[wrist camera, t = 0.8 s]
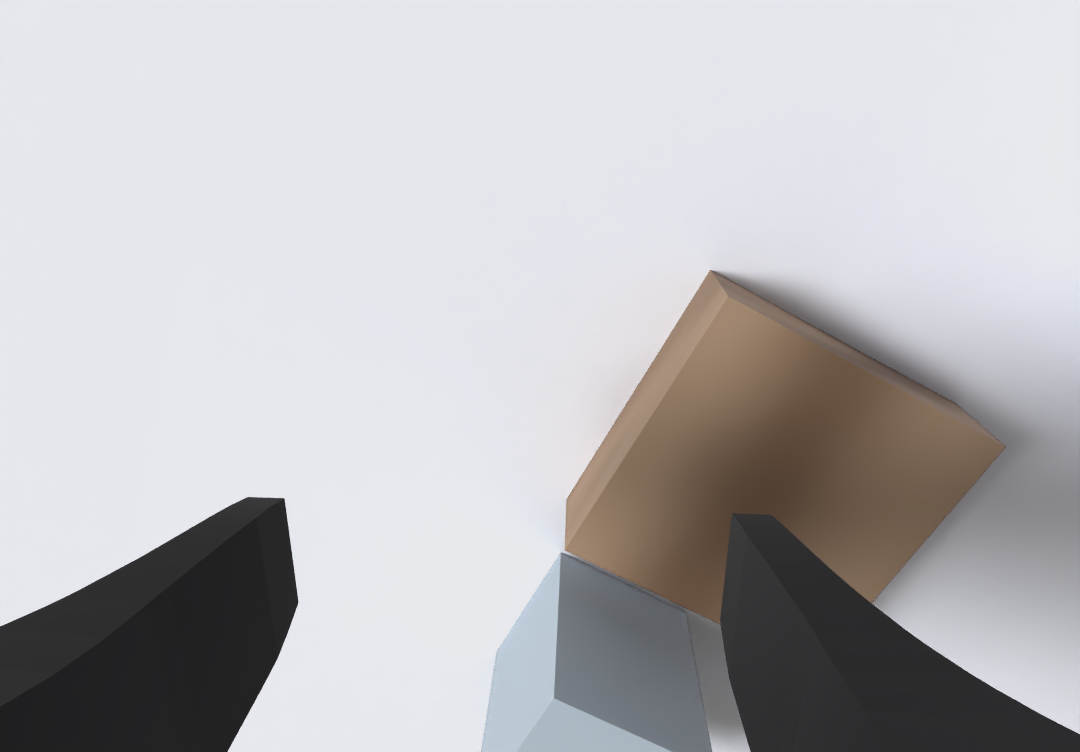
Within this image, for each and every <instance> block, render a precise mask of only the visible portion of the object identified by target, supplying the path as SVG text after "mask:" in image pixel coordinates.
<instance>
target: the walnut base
mask: <svg viewBox="0 0 1080 752" xmlns="http://www.w3.org/2000/svg"><path fill="white" fill-rule="evenodd" d="M1005 447H1006V446H1004V445H1003V444H1002V443H1001V442H1000V441H999V440H997V439H996V438H995V437H994V436H993V435H992V434H990V433H989V432H988V431H987V430H986V429H985V428H983V427H982V426H981V425H980V424H979V423H978V422H977V421H975V420H974V419H973V418H972V417H971V416H970V415H968V414H967V413H966V412H965V411H964V410H963V409H961V408H960V407H959V406H958V405H957V404H955V403H953V402H951V401H949V400H948V399H946V398H944V397H942V396H940V395H938V394H937V393H935V392H933V391H931V390H929V389H927V388H926V387H924V386H922V385H920V384H918V383H916V382H915V381H913V380H911V379H909V378H907V377H905V376H904V375H902V374H900V373H898V372H896V371H894V370H893V369H891V368H889V367H887V366H885V365H883V364H882V363H880V362H878V361H876V360H874V359H872V358H871V357H869V356H867V355H865V354H863V353H861V352H860V351H858V350H856V349H854V348H852V347H850V346H849V345H847V344H845V343H843V342H841V341H839V340H838V339H836V338H834V337H832V336H830V335H828V334H827V333H825V332H823V331H821V330H819V329H817V328H816V327H814V326H812V325H810V324H808V323H807V322H805V321H803V320H801V319H799V318H797V317H796V316H794V315H792V314H790V313H788V312H786V311H785V310H783V309H781V308H779V307H777V306H775V305H774V304H772V303H770V302H768V301H766V300H764V299H763V298H761V297H759V296H757V295H755V294H753V293H752V292H750V291H748V290H746V289H744V288H742V287H741V286H739V285H737V284H735V283H733V282H731V281H730V280H728V279H726V278H724V277H722V276H720V275H719V274H717V273H715V272H713V271H711V270H710V271H709V273H708V275H707V276H706V278H705V279H704V281H703V283H702V284H701V286H700V287H699V289H698V291H697V292H696V294H695V295H694V297H693V299H692V300H691V302H690V303H689V305H688V307H687V308H686V310H685V311H684V313H683V314H682V316H681V318H680V319H679V321H678V322H677V324H676V326H675V327H674V329H673V330H672V332H671V334H670V335H669V337H668V338H667V340H666V342H665V343H664V345H663V346H662V348H661V350H660V351H659V353H658V354H657V356H656V358H655V359H654V361H653V362H652V364H651V366H650V367H649V369H648V370H647V372H646V374H645V375H644V377H643V378H642V380H641V382H640V383H639V385H638V386H637V388H636V389H635V391H634V393H633V394H632V396H631V397H630V399H629V401H628V402H627V404H626V405H625V407H624V409H623V410H622V412H621V413H620V415H619V417H618V418H617V420H616V421H615V423H614V425H613V426H612V428H611V429H610V431H609V433H608V434H607V436H606V437H605V439H604V441H603V442H602V444H601V445H600V447H599V449H598V450H597V452H596V453H595V455H594V457H593V458H592V460H591V461H590V463H589V464H588V466H587V468H586V469H585V471H584V472H583V474H582V476H581V477H580V479H579V480H578V482H577V484H576V485H575V487H574V488H573V490H572V492H571V493H570V495H569V496H568V498H567V502H566V531H565V551H567V552H570V553H572V554H574V555H576V556H578V557H580V558H582V559H584V560H586V561H588V562H590V563H593V564H595V565H597V566H599V567H601V568H603V569H605V570H607V571H609V572H611V573H614V574H616V575H618V576H620V577H622V578H624V579H626V580H628V581H630V582H632V583H635V584H637V585H639V586H641V587H643V588H645V589H647V590H649V591H651V592H653V593H655V594H658V595H660V596H662V597H664V598H666V599H668V600H670V601H672V602H674V603H676V604H679V605H681V606H683V607H685V608H687V609H689V610H691V611H693V612H695V613H697V614H700V615H702V616H704V617H706V618H708V619H710V620H712V621H714V622H716V623H718V624H720V625H721V623H720V615H721V606H722V597H723V589H724V580H725V571H726V562H727V553H728V544H729V535H730V526H731V517H732V513H736V514H766V515H772V516H773V517H775V518H776V519H777V520H778V521H779V522H780V523H781V524H783V525H784V526H785V527H786V528H787V529H788V530H789V531H790V532H791V533H792V534H793V535H794V536H795V537H797V538H798V539H799V540H800V541H801V542H802V543H803V544H804V545H805V546H806V547H807V548H808V549H809V550H811V551H812V552H813V553H814V554H815V555H816V556H817V557H818V558H819V559H820V560H821V561H823V562H824V563H825V564H826V565H827V566H828V567H829V568H830V569H831V570H833V571H834V572H835V573H836V574H837V575H838V576H839V577H841V578H842V579H843V580H844V581H845V582H846V583H847V584H849V585H850V586H851V587H852V588H853V589H854V590H856V591H857V592H858V593H859V594H860V595H862V596H863V597H864V598H865V599H867V600H868V601H869V602H870V603H872V602H873V601H874V600H875V598H876V597H877V596H878V595H879V594H880V593H881V591H882V590H883V589H884V588H885V587H886V586H887V584H888V583H889V582H890V581H891V580H892V579H893V578H894V576H895V575H896V574H897V573H898V572H899V571H900V569H901V568H902V567H903V566H904V565H905V564H906V562H907V561H908V560H909V559H910V558H911V557H912V555H913V554H914V553H915V552H916V551H917V550H918V548H919V547H920V546H921V545H922V544H923V543H924V541H925V540H926V539H927V538H928V537H929V536H930V535H931V533H932V532H933V531H934V530H935V529H936V528H937V526H938V525H939V524H940V523H941V522H942V521H943V519H944V518H945V517H946V516H947V515H948V514H949V512H950V511H951V510H952V509H953V508H954V507H955V505H956V504H957V503H958V502H959V501H960V500H961V499H962V497H963V496H964V495H965V494H966V493H967V492H968V490H969V489H970V488H971V487H972V486H973V485H974V483H975V482H976V481H977V480H978V479H979V478H980V476H981V475H982V474H983V473H984V472H985V471H986V469H987V468H988V467H989V466H990V465H991V464H992V462H993V461H994V460H995V459H996V458H997V457H998V456H999V454H1000V453H1001V452H1002V451H1003V450H1004V449H1005Z"/></svg>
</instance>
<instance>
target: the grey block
mask: <svg viewBox="0 0 1080 752" xmlns="http://www.w3.org/2000/svg"><path fill="white" fill-rule="evenodd" d="M481 752H712V748H711V743H710V738H709V732H708V727H707V722H706V717H705V711H704V706H703V701H702V696H701V691H700V685H699V680H698V675H697V670H696V664H695V659H694V654H693V649H692V644H691V638H690V633H689V628H688V623H687V617H686V612H684V611H682V610H680V609H677V608H675V607H673V606H671V605H669V604H667V603H665V602H663V601H661V600H659V599H657V598H655V597H652V596H650V595H648V594H646V593H644V592H642V591H640V590H638V589H636V588H634V587H632V586H630V585H628V584H625V583H623V582H621V581H619V580H617V579H615V578H613V577H611V576H609V575H607V574H605V573H603V572H600V571H598V570H596V569H594V568H592V567H590V566H588V565H586V564H584V563H582V562H580V561H578V560H575V559H573V558H571V557H569V556H567V555H565V554H563V553H560V555H559V556H558V558H557V559H556V561H555V562H554V564H553V565H552V567H551V569H550V570H549V572H548V573H547V575H546V576H545V578H544V579H543V581H542V583H541V584H540V586H539V587H538V589H537V590H536V592H535V593H534V595H533V596H532V598H531V600H530V601H529V603H528V604H527V606H526V607H525V609H524V610H523V612H522V613H521V615H520V617H519V618H518V620H517V621H516V623H515V624H514V626H513V627H512V629H511V631H510V632H509V634H508V635H507V637H506V638H505V640H504V641H503V643H502V644H501V646H500V648H499V649H498V651H497V652H496V658H495V665H494V671H493V678H492V684H491V691H490V697H489V704H488V711H487V717H486V724H485V730H484V737H483V743H482V750H481Z"/></svg>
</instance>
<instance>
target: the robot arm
mask: <svg viewBox="0 0 1080 752" xmlns="http://www.w3.org/2000/svg"><path fill="white" fill-rule="evenodd" d="M297 605H298V596H297V588H296V581H295V574H294V566H293V559H292V551H291V544H290V537H289V529H288V522H287V514H286V507H285V500H284V498H256V497H247V498H245V499H243V500H241V501H239V502H237V503H235V504H233V505H231V506H229V507H227V508H225V509H223V510H221V511H220V512H218V513H216V514H214V515H213V516H211V517H209V518H207V519H206V520H204V521H202V522H201V523H199V524H197V525H195V526H194V527H192V528H190V529H189V530H187V531H185V532H183V533H182V534H180V535H178V536H177V537H175V538H173V539H171V540H170V541H168V542H166V543H164V544H163V545H161V546H159V547H158V548H156V549H154V550H152V551H151V552H149V553H147V554H146V555H144V556H142V557H140V558H138V559H137V560H135V561H133V562H131V563H129V564H127V565H125V566H124V567H122V568H120V569H118V570H116V571H114V572H112V573H110V574H109V575H107V576H105V577H103V578H101V579H99V580H97V581H95V582H94V583H92V584H90V585H88V586H86V587H84V588H82V589H81V590H79V591H77V592H75V593H73V594H71V595H69V596H67V597H65V598H62V599H60V600H58V601H56V602H54V603H52V604H50V605H48V606H46V607H43V608H41V609H39V610H37V611H35V612H32V613H30V614H28V615H26V616H23V617H21V618H19V619H16V620H14V621H12V622H10V623H7V624H5V625H3V626H0V752H227V751H228V749H229V748H230V746H231V744H232V742H233V740H234V738H235V737H236V735H237V733H238V731H239V729H240V727H241V726H242V724H243V722H244V720H245V718H246V717H247V715H248V713H249V711H250V709H251V707H252V706H253V704H254V702H255V700H256V698H257V696H258V694H259V692H260V691H261V689H262V687H263V685H264V683H265V681H266V679H267V678H268V676H269V674H270V672H271V670H272V668H273V666H274V664H275V662H276V660H277V658H278V656H279V653H280V651H281V648H282V646H283V643H284V641H285V638H286V636H287V633H288V630H289V628H290V625H291V622H292V619H293V616H294V613H295V611H296V608H297ZM720 623H721V629H722V636H723V642H724V649H725V655H726V661H727V667H728V673H729V678H730V682H731V685H732V689H733V693H734V696H735V699H736V703H737V706H738V710H739V713H740V717H741V720H742V724H743V727H744V730H745V734H746V737H747V740H748V744H749V747H750V751H751V752H1080V734H1078V733H1076V732H1074V731H1072V730H1070V729H1068V728H1066V727H1064V726H1062V725H1060V724H1058V723H1056V722H1054V721H1052V720H1051V719H1049V718H1047V717H1045V716H1043V715H1041V714H1039V713H1037V712H1036V711H1034V710H1032V709H1030V708H1028V707H1027V706H1025V705H1023V704H1021V703H1020V702H1018V701H1016V700H1014V699H1012V698H1011V697H1009V696H1007V695H1005V694H1004V693H1002V692H1000V691H998V690H996V689H995V688H993V687H991V686H990V685H988V684H986V683H985V682H983V681H981V680H980V679H978V678H976V677H975V676H973V675H971V674H970V673H968V672H967V671H965V670H964V669H962V668H961V667H959V666H958V665H956V664H955V663H953V662H951V661H950V660H948V659H947V658H945V657H944V656H942V655H941V654H939V653H938V652H936V651H935V650H933V649H932V648H930V647H929V646H927V645H926V644H924V643H923V642H922V641H920V640H919V639H917V638H916V637H915V636H913V635H912V634H910V633H909V632H908V631H906V630H905V629H904V628H902V627H901V626H900V625H898V624H897V623H896V622H895V621H893V620H892V619H891V618H889V617H888V616H887V615H886V614H884V613H883V612H882V611H880V610H879V609H878V608H876V607H875V606H874V605H873V604H871V603H870V602H869V601H868V600H867V599H865V598H864V597H863V596H862V595H860V594H859V593H858V592H857V591H856V590H854V589H853V588H852V587H851V586H850V585H849V584H847V583H846V582H845V581H844V580H843V579H842V578H841V577H839V576H838V575H837V574H836V573H835V572H834V571H833V570H831V569H830V568H829V567H828V566H827V565H826V564H825V563H824V562H823V561H821V560H820V559H819V558H818V557H817V556H816V555H815V554H814V553H813V552H812V551H811V550H809V549H808V548H807V547H806V546H805V545H804V544H803V543H802V542H801V541H800V540H799V539H798V538H797V537H795V536H794V535H793V534H792V533H791V532H790V531H789V530H788V529H787V528H786V527H785V526H784V525H783V524H781V523H780V522H779V521H778V520H777V519H776V518H775V517H773V516H772V515H766V514H736V513H732V517H731V526H730V535H729V544H728V553H727V562H726V571H725V580H724V589H723V597H722V606H721V615H720Z"/></svg>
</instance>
